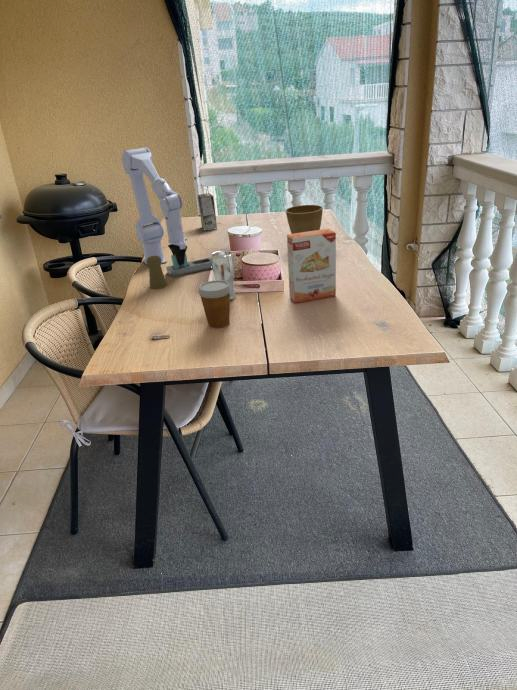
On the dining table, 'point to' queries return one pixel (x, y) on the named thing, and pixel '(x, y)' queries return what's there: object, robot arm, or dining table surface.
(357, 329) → the dining table surface
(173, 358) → the dining table surface
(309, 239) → the cracker box
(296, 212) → the plant pot
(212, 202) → the coffee box
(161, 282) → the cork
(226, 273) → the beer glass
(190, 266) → the grey compartment tray
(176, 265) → the clip
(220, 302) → the disposable coffee cup
